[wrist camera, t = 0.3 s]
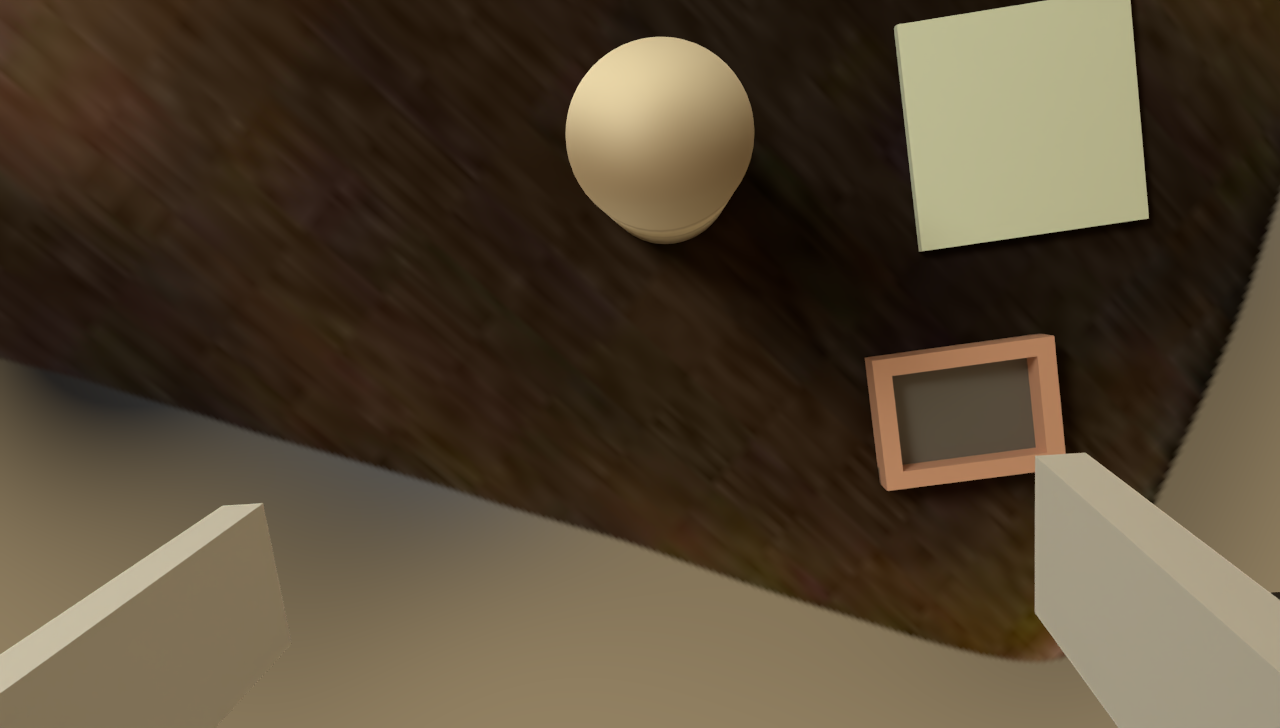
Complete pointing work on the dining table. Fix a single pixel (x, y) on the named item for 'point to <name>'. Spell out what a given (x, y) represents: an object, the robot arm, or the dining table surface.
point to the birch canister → (660, 137)
